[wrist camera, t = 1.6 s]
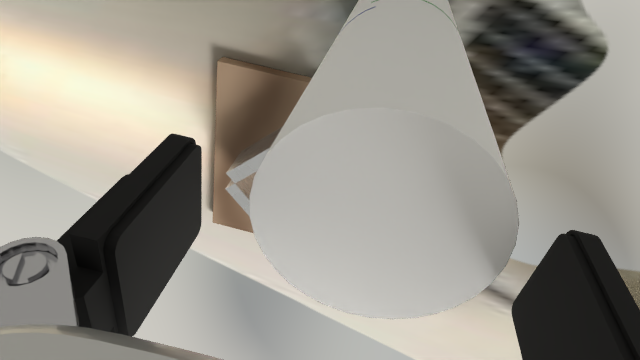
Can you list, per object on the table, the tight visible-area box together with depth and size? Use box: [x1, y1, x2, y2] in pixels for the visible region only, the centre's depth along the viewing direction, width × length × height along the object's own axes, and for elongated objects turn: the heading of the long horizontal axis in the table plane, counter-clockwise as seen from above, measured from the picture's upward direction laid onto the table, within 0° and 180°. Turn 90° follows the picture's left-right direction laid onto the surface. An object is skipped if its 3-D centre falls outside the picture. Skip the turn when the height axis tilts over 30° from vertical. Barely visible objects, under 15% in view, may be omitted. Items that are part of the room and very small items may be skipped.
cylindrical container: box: [249, 0, 519, 319], centre depth 22 cm, size 7×7×25 cm
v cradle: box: [213, 57, 312, 233], centre depth 39 cm, size 20×18×5 cm
